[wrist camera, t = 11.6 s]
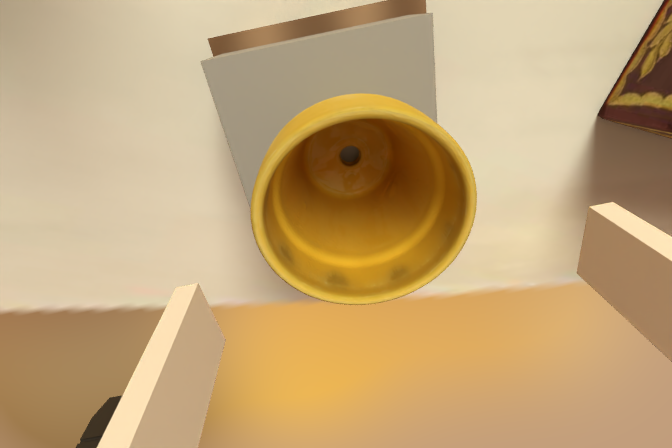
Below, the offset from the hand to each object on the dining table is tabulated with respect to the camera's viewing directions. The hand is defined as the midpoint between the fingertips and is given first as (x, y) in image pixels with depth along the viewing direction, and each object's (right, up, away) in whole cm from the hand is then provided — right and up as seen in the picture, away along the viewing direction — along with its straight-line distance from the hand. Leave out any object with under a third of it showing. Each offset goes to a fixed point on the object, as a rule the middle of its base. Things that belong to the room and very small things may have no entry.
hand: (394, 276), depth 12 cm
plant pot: (-1, +7, +13) cm, 14 cm away
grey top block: (-2, +10, +18) cm, 20 cm away
